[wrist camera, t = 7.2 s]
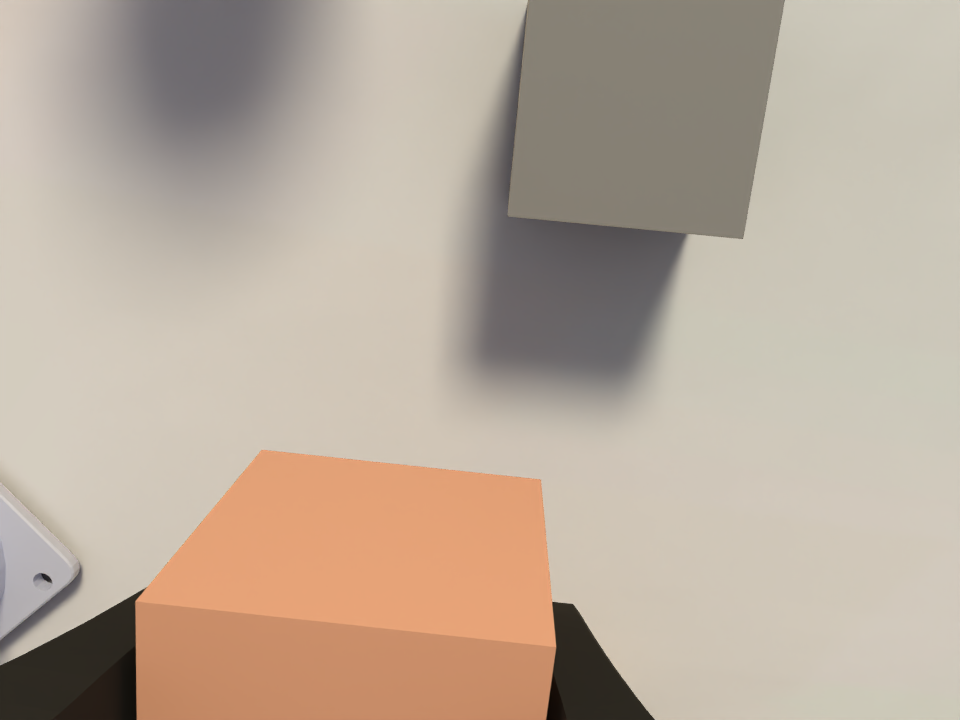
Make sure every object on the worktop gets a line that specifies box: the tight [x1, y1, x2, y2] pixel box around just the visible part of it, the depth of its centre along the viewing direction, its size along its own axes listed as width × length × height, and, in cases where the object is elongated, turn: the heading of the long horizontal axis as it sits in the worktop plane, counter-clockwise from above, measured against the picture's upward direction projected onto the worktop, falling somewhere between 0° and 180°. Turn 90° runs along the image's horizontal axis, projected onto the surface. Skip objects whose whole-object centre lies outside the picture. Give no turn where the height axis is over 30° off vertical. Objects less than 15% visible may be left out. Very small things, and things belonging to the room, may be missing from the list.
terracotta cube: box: [135, 450, 556, 720], centre depth 11 cm, size 4×4×4 cm
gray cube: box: [508, 0, 785, 239], centre depth 17 cm, size 4×4×4 cm
